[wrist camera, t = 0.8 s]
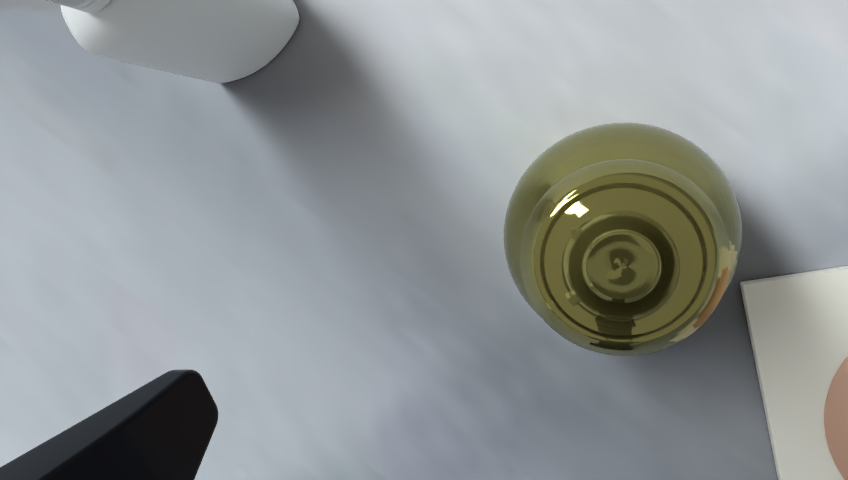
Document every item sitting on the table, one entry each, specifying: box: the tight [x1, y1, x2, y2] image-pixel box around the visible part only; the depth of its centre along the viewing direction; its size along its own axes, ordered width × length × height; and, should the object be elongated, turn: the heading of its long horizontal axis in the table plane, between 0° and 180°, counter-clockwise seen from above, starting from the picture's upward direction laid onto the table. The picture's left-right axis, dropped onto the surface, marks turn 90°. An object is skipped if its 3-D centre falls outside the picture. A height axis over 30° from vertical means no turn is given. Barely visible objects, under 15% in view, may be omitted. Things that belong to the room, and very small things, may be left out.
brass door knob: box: [504, 123, 742, 356], centre depth 18 cm, size 7×7×10 cm
